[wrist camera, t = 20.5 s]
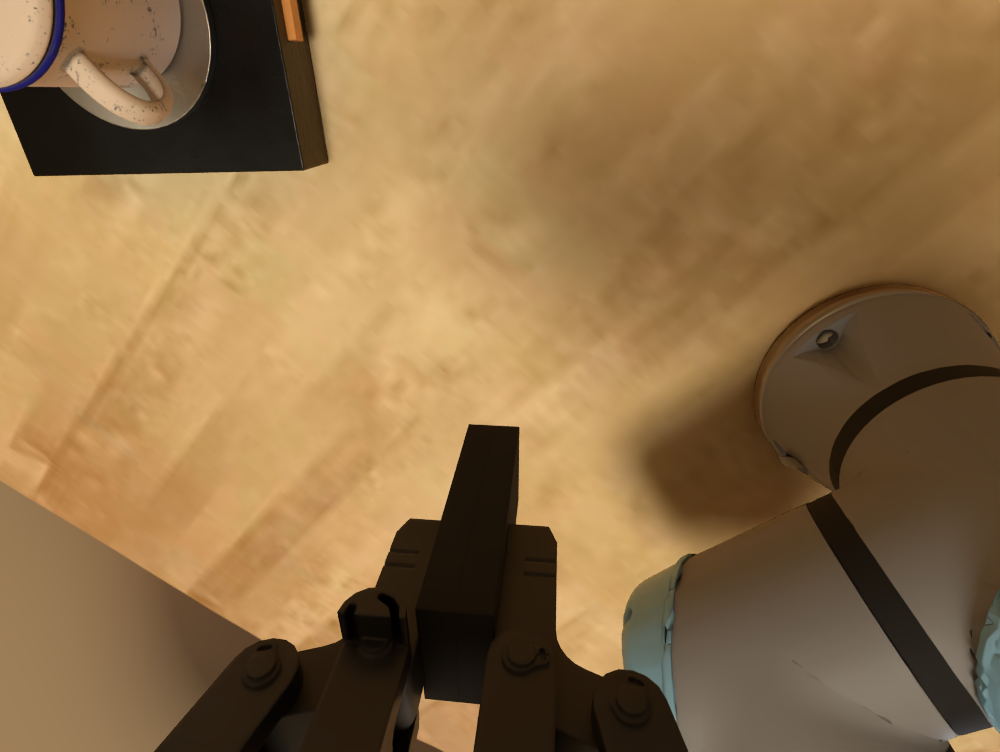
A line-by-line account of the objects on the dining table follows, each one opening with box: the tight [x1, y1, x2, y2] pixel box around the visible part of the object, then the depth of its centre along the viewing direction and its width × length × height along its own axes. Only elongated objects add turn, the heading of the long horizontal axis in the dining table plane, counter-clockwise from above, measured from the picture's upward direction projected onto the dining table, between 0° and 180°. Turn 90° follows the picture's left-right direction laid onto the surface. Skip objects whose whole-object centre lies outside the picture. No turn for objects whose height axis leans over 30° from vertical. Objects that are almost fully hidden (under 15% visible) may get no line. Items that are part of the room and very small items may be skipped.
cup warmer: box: [0, 0, 328, 176], centre depth 31 cm, size 18×16×5 cm
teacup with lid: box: [0, 0, 181, 125], centre depth 24 cm, size 12×9×12 cm
